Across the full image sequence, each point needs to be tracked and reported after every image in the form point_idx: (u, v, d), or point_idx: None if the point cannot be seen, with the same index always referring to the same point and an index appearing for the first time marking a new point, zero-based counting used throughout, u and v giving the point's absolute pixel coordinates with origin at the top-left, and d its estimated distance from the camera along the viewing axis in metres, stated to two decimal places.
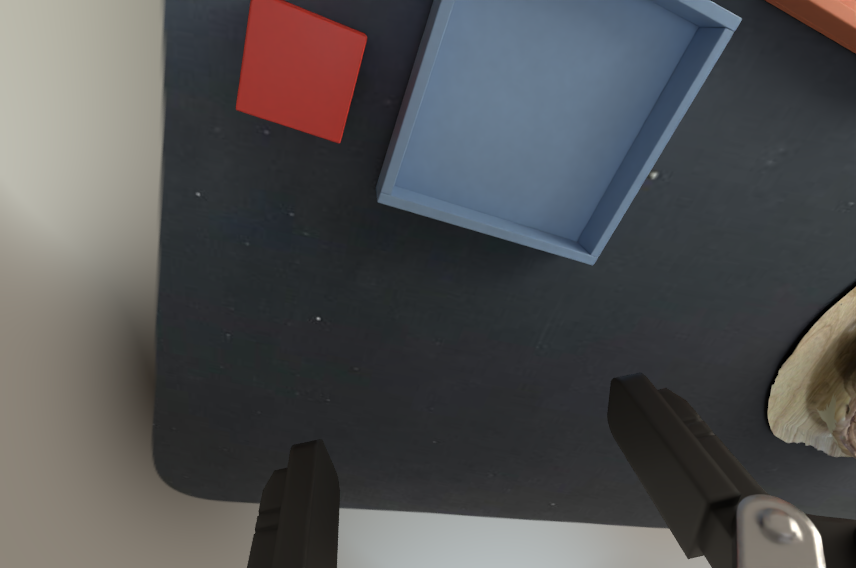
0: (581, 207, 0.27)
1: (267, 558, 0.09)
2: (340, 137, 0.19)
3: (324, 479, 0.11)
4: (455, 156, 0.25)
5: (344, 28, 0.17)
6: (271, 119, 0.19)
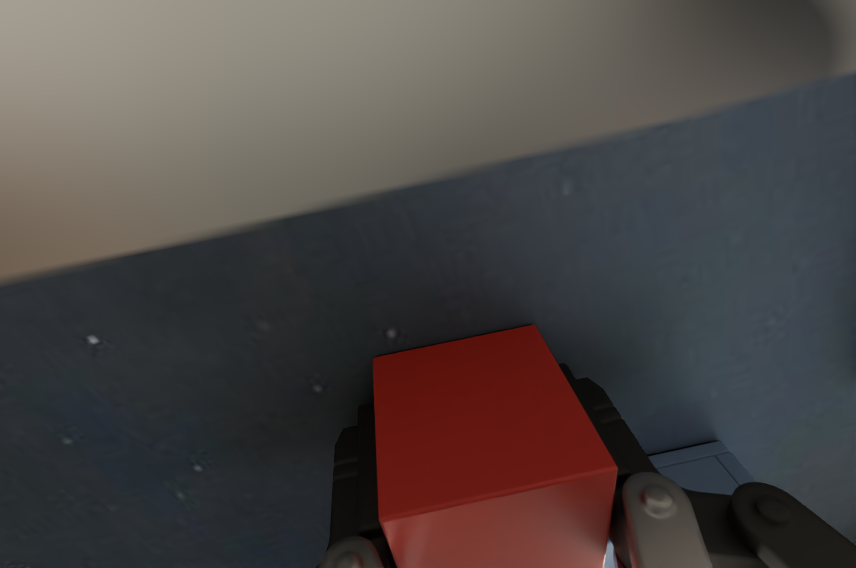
0: None
1: (348, 501, 0.10)
2: None
3: None
4: None
5: (603, 563, 0.10)
6: (398, 560, 0.09)
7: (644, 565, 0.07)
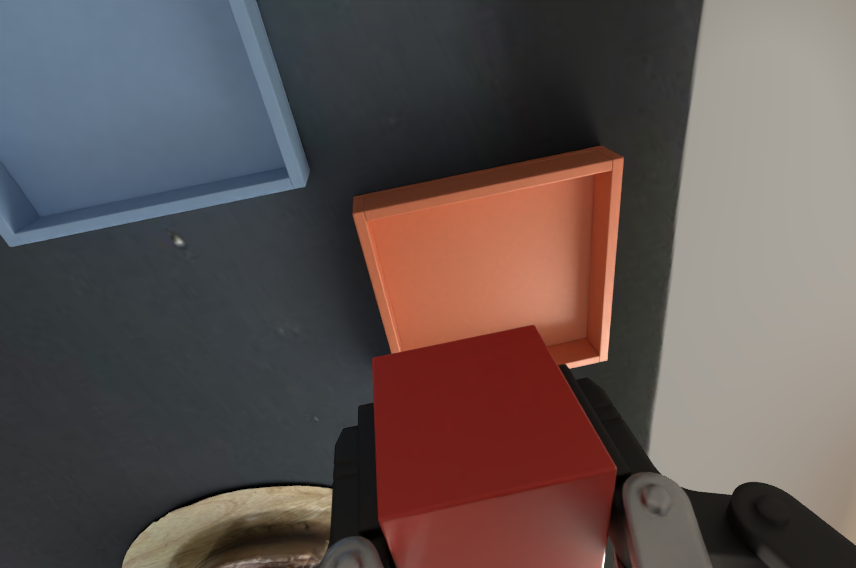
0: (72, 190, 0.21)
1: (348, 502, 0.10)
2: None
3: None
4: None
5: (603, 563, 0.10)
6: (398, 560, 0.09)
7: (644, 565, 0.07)
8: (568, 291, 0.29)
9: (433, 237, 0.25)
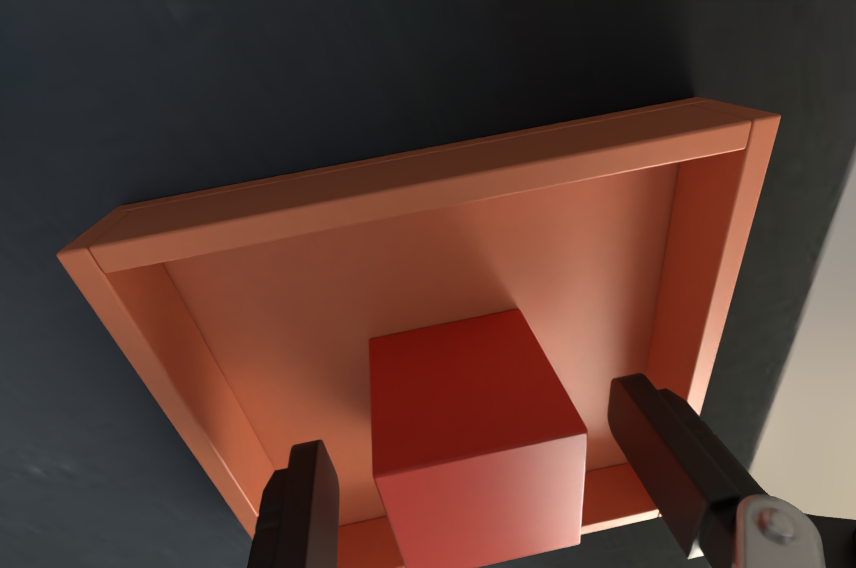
0: None
1: (267, 558, 0.09)
2: None
3: (324, 479, 0.11)
4: None
5: (580, 524, 0.11)
6: (391, 517, 0.09)
7: None
8: (604, 391, 0.15)
9: (323, 297, 0.12)
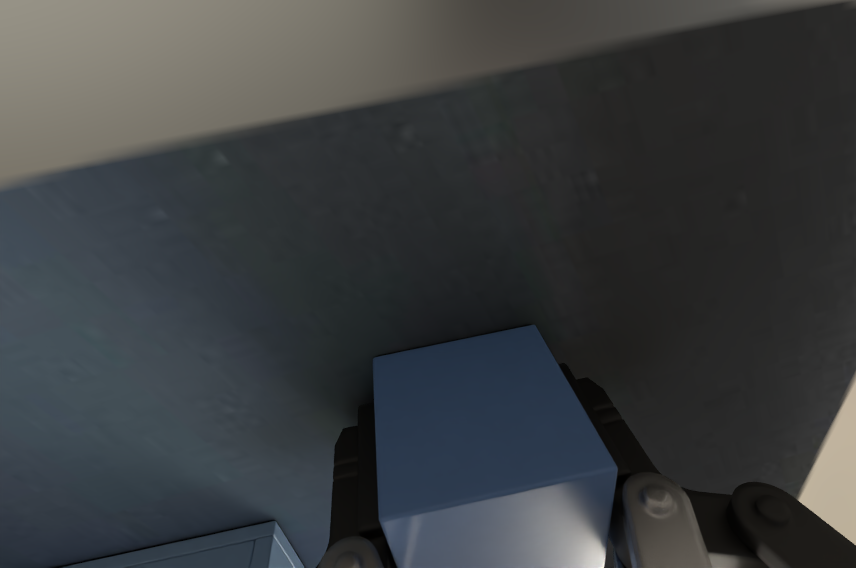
0: None
1: (348, 501, 0.10)
2: None
3: None
4: None
5: None
6: None
7: (644, 565, 0.07)
8: None
9: None
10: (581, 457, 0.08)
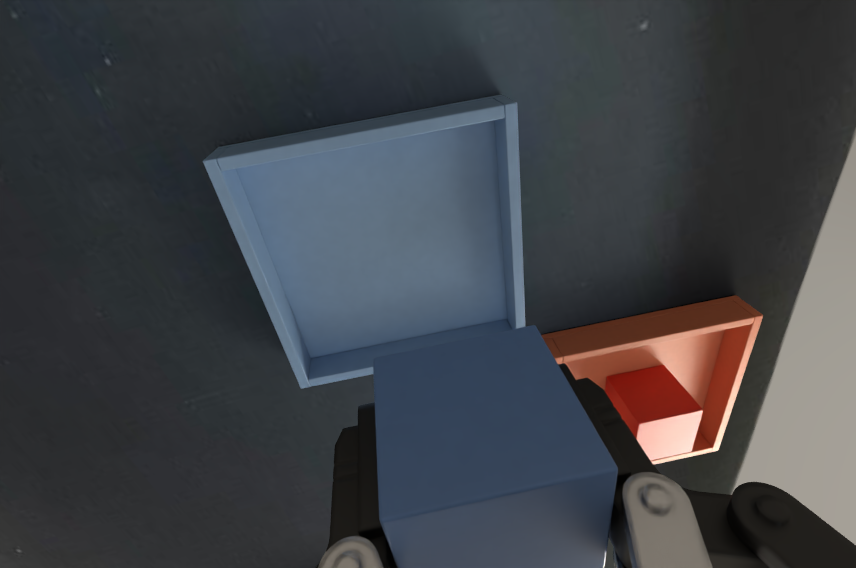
0: (340, 340, 0.27)
1: (348, 501, 0.10)
2: None
3: None
4: (306, 209, 0.23)
5: (693, 443, 0.31)
6: (637, 437, 0.29)
7: (644, 565, 0.07)
8: None
9: (596, 362, 0.32)
10: (581, 457, 0.08)
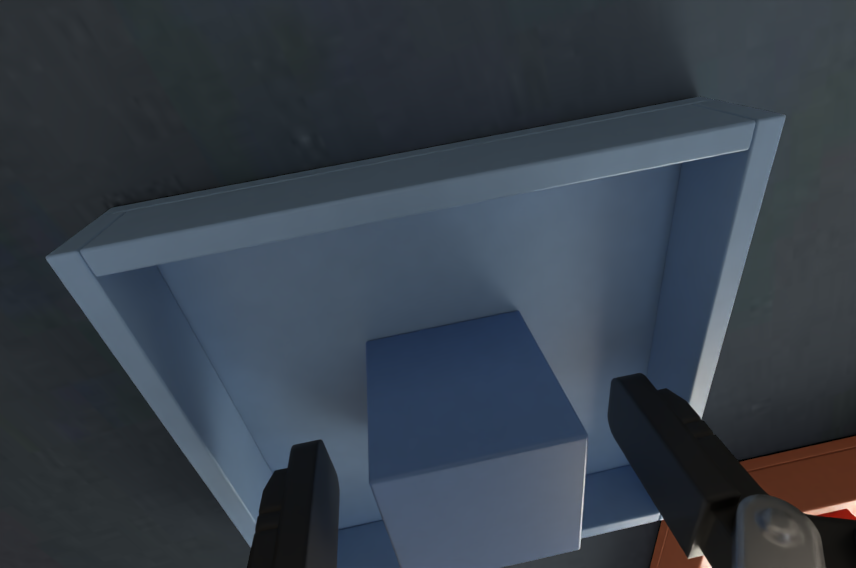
0: (358, 509, 0.16)
1: (266, 559, 0.09)
2: None
3: (324, 479, 0.11)
4: (298, 320, 0.12)
5: None
6: None
7: None
8: None
9: None
10: (555, 426, 0.09)
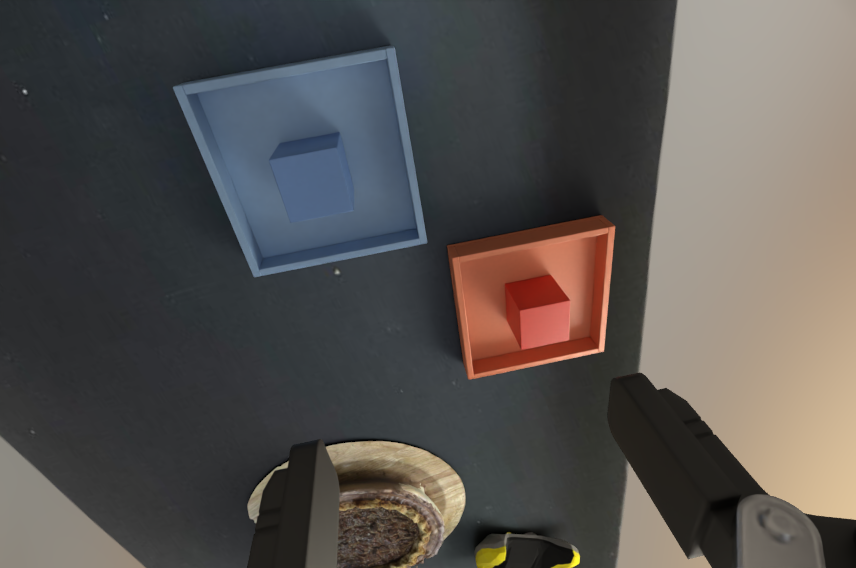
0: (285, 243, 0.36)
1: (267, 558, 0.09)
2: None
3: (324, 479, 0.11)
4: (252, 131, 0.31)
5: (568, 332, 0.39)
6: (521, 323, 0.38)
7: None
8: (578, 305, 0.43)
9: (494, 270, 0.40)
10: (329, 147, 0.28)
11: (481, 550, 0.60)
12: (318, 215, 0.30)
